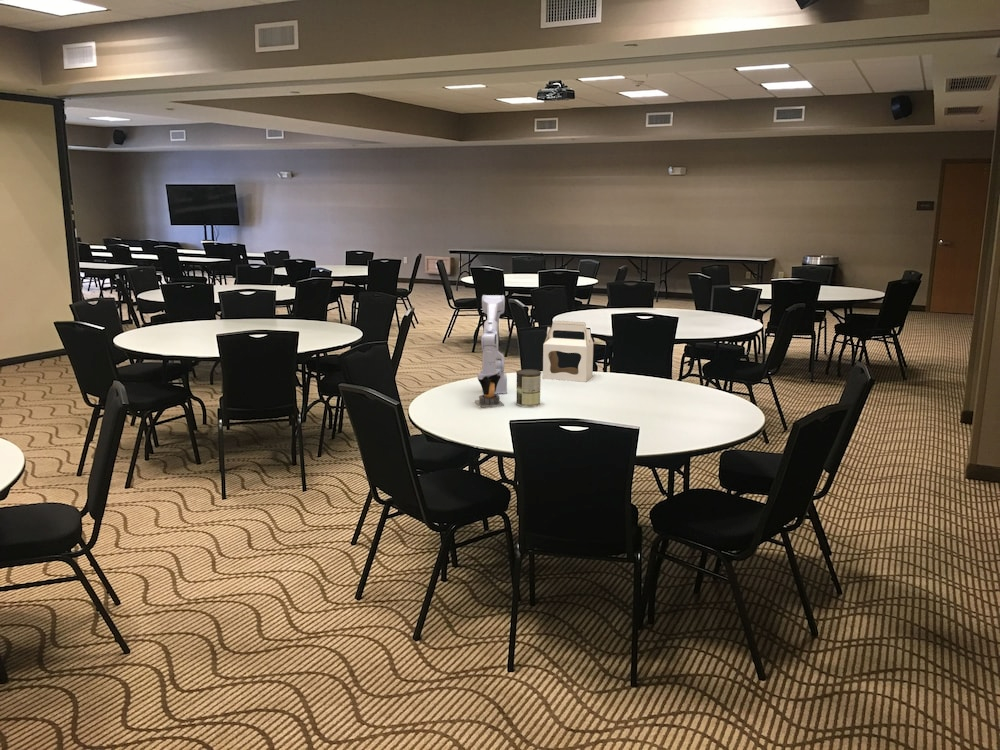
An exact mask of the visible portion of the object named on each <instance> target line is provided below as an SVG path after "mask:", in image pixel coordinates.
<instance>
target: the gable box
mask: <svg viewBox="0 0 1000 750" xmlns="http://www.w3.org/2000/svg"><path fill="white" fill-rule="evenodd" d="M555 331H563V332H564V331H565V332H581V333H584V339H579V338H567V337H566V338H564V337H562V338H561V337H554V332H555ZM591 334H592V333H591V329H590V328H589V329H588V328H587V325H586V322H584V321H569V320H568V321H567V320H566V321H565V320H553V321H552V325H551V326H547V330H546V336H545V339H544V342H543V344H542V345H543V347H542V348H543V349H542V351H543V352H542V354H543V355H542V379H543V378H544V379H543V380H553V379H556V381H557V380H558V381H566V380H567V382H580V383H587V382H588V381H589V380H590V379H591V378H593V369H594V368H593V367H594V366H593V365H594V364H593V363H594V340H593V337H592V335H591ZM557 352H561V353H567V354H571V353H572V354H573V353H574V354H579V355H580V361H579V363H578V366H577V368H576V367H574V366H573V367H572V366H569V367H559V355H558V353H557Z"/></svg>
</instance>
